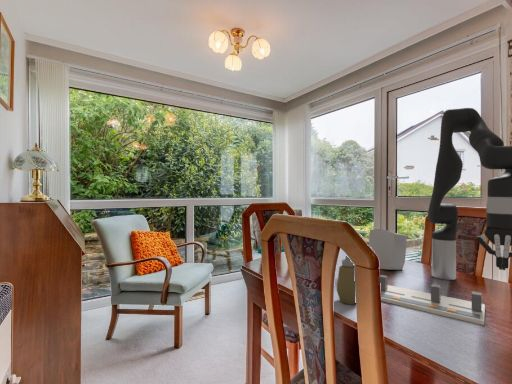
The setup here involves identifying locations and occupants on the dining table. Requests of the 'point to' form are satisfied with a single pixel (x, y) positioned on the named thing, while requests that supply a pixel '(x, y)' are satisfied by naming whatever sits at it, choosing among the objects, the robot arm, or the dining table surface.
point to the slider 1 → (384, 282)
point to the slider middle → (435, 293)
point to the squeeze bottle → (346, 282)
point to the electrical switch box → (388, 248)
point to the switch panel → (434, 304)
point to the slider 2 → (476, 301)
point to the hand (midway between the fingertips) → (501, 269)
